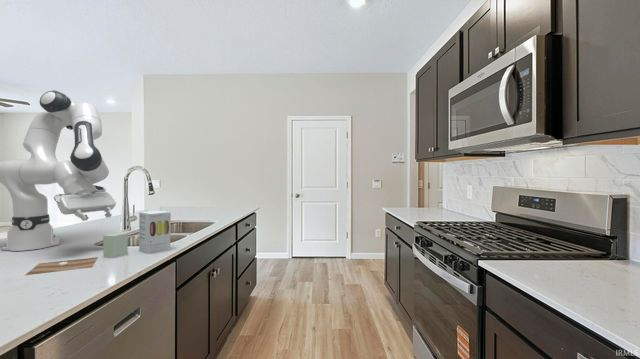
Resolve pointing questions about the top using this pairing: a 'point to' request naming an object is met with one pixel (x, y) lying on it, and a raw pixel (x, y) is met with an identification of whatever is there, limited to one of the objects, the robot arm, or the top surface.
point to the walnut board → (70, 266)
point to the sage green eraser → (115, 245)
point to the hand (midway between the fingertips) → (98, 217)
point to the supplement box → (154, 231)
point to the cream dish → (63, 264)
